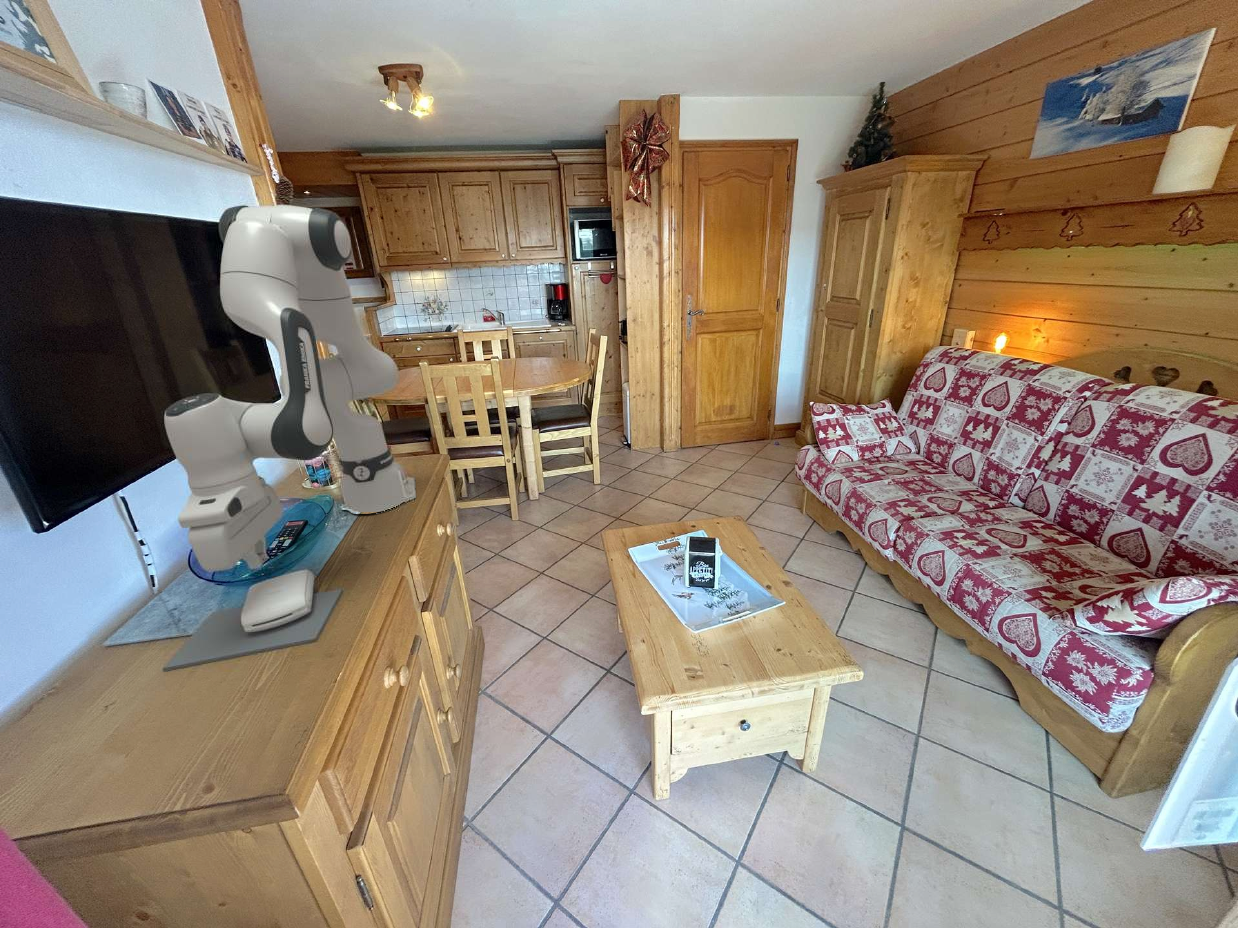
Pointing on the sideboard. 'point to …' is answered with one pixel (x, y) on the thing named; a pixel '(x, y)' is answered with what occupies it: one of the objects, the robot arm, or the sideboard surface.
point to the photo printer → (278, 601)
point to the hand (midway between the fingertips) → (259, 564)
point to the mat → (251, 634)
